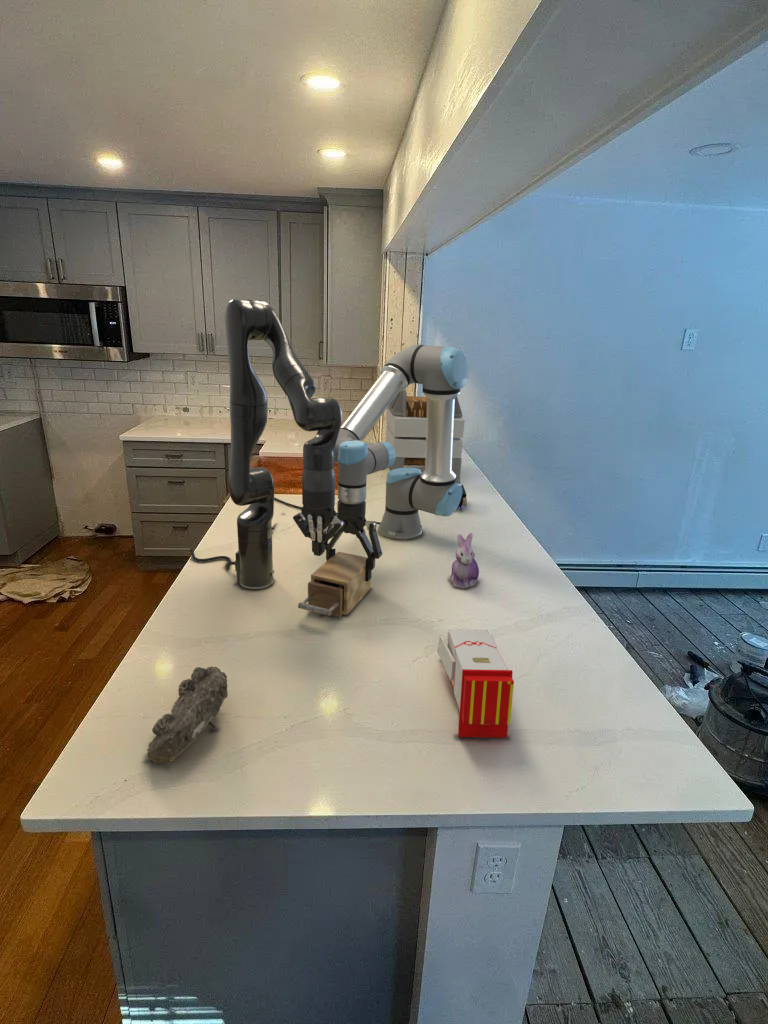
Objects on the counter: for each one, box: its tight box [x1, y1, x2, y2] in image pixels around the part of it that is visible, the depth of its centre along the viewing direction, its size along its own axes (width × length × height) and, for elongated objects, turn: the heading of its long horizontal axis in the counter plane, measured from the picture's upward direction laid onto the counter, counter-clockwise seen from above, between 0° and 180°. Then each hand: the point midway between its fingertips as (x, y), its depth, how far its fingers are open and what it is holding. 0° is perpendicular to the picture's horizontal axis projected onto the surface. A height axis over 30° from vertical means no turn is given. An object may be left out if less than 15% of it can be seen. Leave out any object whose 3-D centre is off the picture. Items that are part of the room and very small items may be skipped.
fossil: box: [146, 666, 229, 764], centre depth 104 cm, size 22×10×15 cm
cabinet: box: [310, 551, 372, 616], centre depth 153 cm, size 16×10×10 cm, turn 159°
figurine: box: [450, 532, 480, 589], centre depth 164 cm, size 9×10×15 cm
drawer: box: [297, 580, 344, 617], centre depth 147 cm, size 21×9×7 cm, turn 159°
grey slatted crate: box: [384, 389, 465, 484], centre depth 268 cm, size 34×33×41 cm
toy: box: [437, 628, 515, 738], centre depth 117 cm, size 12×13×30 cm
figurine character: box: [457, 484, 468, 511], centre depth 230 cm, size 7×8×15 cm
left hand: (318, 554), depth 136 cm, fingers closed
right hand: (349, 575), depth 157 cm, fingers closed on cabinet, 10 cm apart
